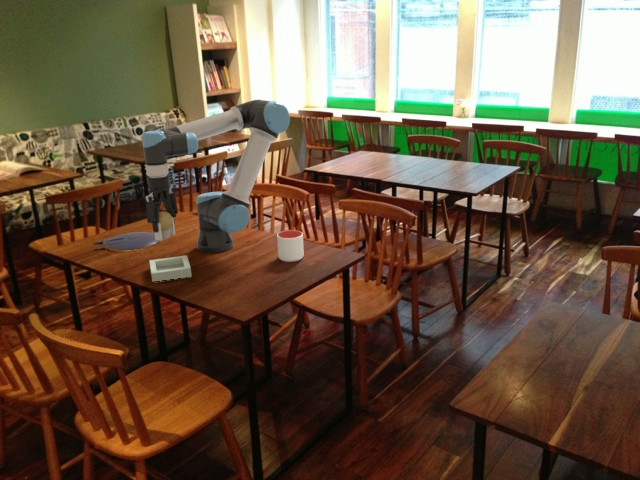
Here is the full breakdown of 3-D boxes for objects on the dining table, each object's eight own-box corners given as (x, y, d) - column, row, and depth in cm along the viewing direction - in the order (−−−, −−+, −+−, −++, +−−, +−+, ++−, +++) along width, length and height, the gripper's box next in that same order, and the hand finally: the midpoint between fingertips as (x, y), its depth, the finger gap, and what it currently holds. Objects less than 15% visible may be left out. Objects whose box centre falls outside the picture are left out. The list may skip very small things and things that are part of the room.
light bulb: (165, 241, 211) (161, 215, 207) (152, 239, 214) (149, 213, 211) (178, 236, 216) (175, 210, 213) (165, 234, 219) (162, 208, 216)
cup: (308, 255, 232) (307, 231, 229) (296, 264, 223) (295, 239, 220) (285, 252, 236) (284, 228, 233) (273, 261, 228) (272, 236, 224)
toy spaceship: (90, 257, 239) (89, 249, 238) (97, 238, 261) (95, 231, 260) (160, 249, 245) (159, 242, 244) (161, 231, 267) (160, 225, 266)
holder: (187, 263, 228) (186, 255, 227) (191, 276, 215) (190, 268, 214) (150, 268, 224) (149, 260, 223) (152, 282, 211) (151, 273, 210)
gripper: (168, 168, 217) (175, 228, 224) (130, 180, 201) (139, 243, 208) (184, 170, 213) (190, 230, 221) (146, 182, 197) (155, 246, 205)
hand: (165, 236), depth 215 cm, fingers closed on light bulb, 6 cm apart
